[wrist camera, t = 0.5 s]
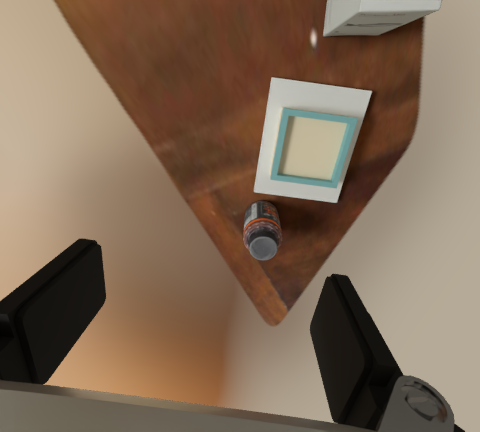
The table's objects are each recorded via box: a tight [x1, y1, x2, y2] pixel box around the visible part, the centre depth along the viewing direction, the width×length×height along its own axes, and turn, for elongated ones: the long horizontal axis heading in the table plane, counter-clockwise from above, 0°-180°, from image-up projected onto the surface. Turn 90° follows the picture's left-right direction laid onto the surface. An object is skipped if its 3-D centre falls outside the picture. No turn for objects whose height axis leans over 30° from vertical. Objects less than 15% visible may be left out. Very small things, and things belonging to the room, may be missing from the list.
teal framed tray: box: [254, 77, 372, 203], centre depth 38 cm, size 17×14×4 cm
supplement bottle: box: [243, 200, 282, 260], centre depth 41 cm, size 6×6×11 cm
